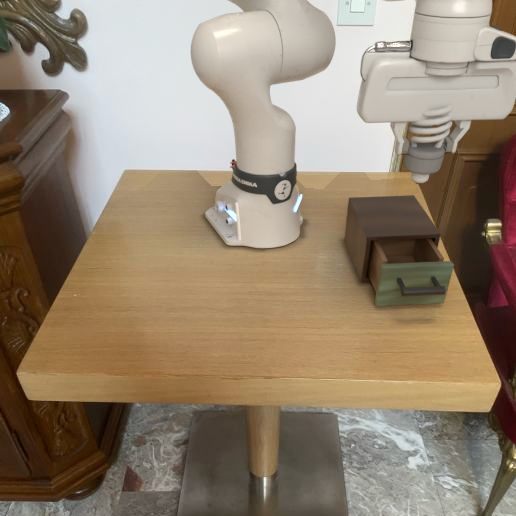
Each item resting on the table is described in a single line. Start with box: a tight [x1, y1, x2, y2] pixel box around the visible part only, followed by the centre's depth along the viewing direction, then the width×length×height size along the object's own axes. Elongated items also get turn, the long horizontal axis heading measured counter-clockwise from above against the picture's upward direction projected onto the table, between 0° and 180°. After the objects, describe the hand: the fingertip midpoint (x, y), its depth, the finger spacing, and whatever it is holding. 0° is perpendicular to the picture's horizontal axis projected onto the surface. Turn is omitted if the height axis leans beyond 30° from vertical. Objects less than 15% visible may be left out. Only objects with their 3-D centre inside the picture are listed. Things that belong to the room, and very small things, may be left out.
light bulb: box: [403, 105, 454, 185], centre depth 72 cm, size 6×6×12 cm
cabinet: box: [343, 194, 442, 283], centre depth 97 cm, size 16×13×9 cm
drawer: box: [367, 238, 455, 307], centre depth 88 cm, size 19×11×7 cm, turn 4°
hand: (424, 152), depth 73 cm, fingers closed on light bulb, 5 cm apart
